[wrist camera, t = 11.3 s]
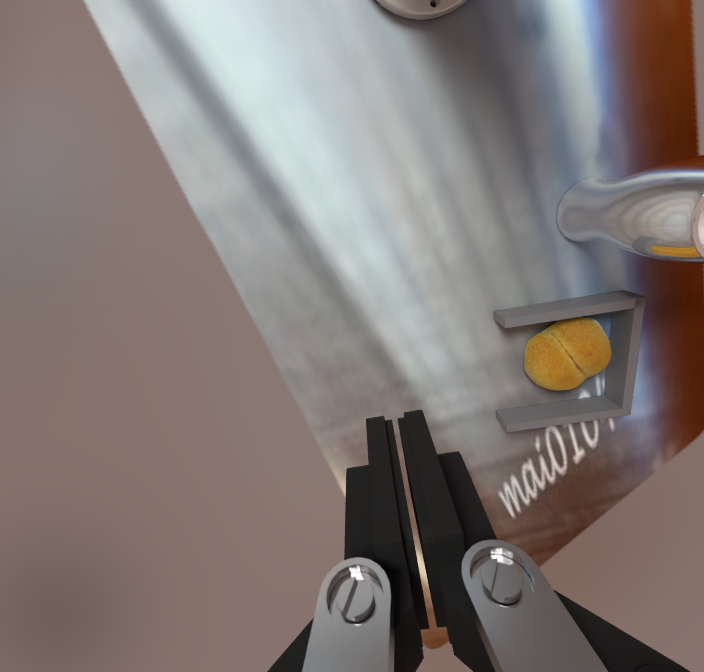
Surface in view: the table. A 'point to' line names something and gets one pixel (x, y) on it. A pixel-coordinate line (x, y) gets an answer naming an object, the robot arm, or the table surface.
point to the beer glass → (641, 211)
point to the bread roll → (567, 353)
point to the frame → (619, 368)
